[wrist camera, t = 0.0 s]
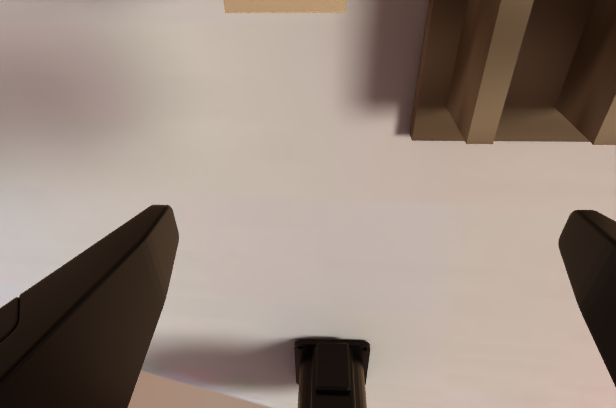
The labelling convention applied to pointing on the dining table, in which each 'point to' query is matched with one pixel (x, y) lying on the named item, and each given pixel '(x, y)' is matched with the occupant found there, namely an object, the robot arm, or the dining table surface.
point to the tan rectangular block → (285, 6)
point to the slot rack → (517, 72)
